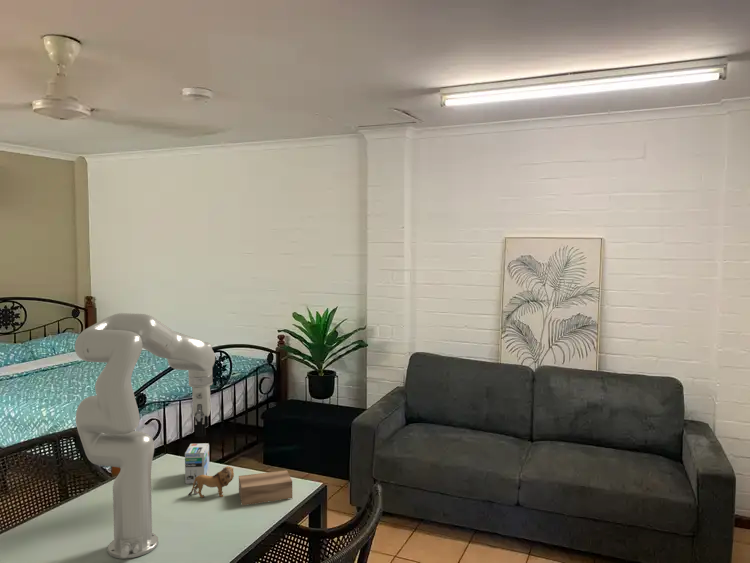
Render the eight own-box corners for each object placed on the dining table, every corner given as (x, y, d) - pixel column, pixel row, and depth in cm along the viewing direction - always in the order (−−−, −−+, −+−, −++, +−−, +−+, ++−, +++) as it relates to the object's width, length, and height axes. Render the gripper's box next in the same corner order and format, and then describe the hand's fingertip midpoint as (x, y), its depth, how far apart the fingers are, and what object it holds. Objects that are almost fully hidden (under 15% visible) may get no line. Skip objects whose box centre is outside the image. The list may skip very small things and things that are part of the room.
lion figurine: (234, 489, 197) (233, 463, 196) (234, 496, 192) (233, 469, 191) (188, 493, 194) (188, 466, 193) (186, 500, 188) (186, 473, 188)
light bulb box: (204, 483, 202) (204, 452, 201) (184, 484, 201) (184, 453, 201) (209, 471, 213) (209, 442, 212) (190, 472, 212) (190, 443, 211)
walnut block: (292, 499, 190) (292, 481, 190) (241, 506, 185) (241, 487, 185) (287, 487, 199) (287, 470, 199) (238, 493, 194) (238, 475, 194)
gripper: (210, 386, 185) (211, 439, 186) (214, 373, 202) (215, 422, 203) (185, 387, 183) (186, 440, 184) (191, 374, 200) (192, 424, 201)
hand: (201, 431), depth 194 cm, fingers open, 9 cm apart
